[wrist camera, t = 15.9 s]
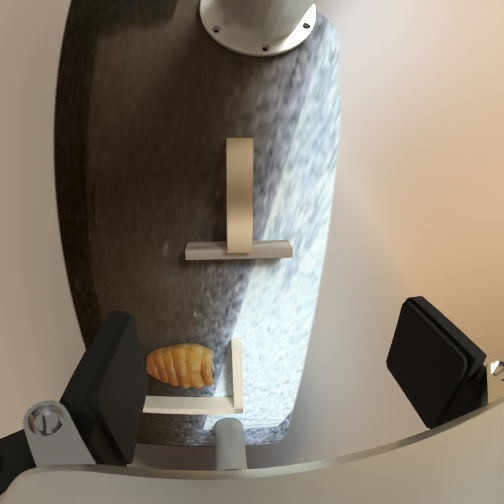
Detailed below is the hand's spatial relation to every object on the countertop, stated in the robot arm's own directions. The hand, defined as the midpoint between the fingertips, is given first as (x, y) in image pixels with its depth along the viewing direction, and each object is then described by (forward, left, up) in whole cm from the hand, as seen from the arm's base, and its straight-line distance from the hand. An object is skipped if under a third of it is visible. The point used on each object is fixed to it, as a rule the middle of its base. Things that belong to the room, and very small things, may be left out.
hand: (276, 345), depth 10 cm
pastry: (+18, +12, -24) cm, 33 cm away
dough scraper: (-1, -1, -24) cm, 24 cm away
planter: (+23, +27, -24) cm, 43 cm away
